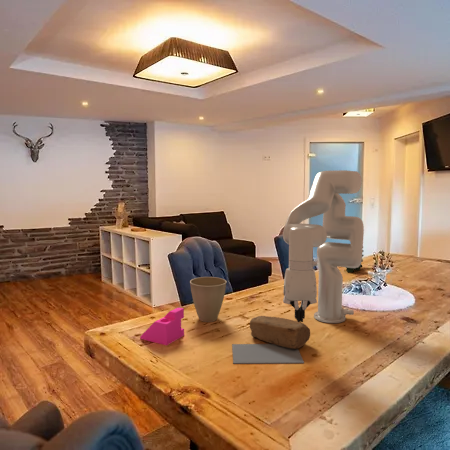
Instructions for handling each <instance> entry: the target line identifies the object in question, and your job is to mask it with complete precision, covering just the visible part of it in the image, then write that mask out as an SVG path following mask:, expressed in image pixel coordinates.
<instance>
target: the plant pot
mask: <svg viewBox="0 0 450 450" xmlns="http://www.w3.org/2000/svg"><path fill="white" fill-rule="evenodd" d="M189 284H190V292H191V296H192V302H193V305H194V309H195V311H196V314H197V317H198V319H199V321H201V322H206V323H210V322H215V321H217V319H218V317H219V316H220V312H221V309H222V306H223V303H224V302H223V301H224V298H225V295H226V289H227V280H226V279H224V278H221V277H218V276H217V277H216V276H215V277H214V276H201V277H200V276H199V277H195V278H192V279H191V280H189Z"/></svg>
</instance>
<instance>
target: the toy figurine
mask: <svg viewBox="0 0 450 450" xmlns="http://www.w3.org/2000/svg"><path fill="white" fill-rule="evenodd" d="M362 253H364V250H363V252H362ZM364 255H365V254H362V258H363V257H364ZM363 261H364V259H362V261H361V263H363ZM345 268H346V271H345V272H347V273H349V274H352V273H353V272H354V270H355V271H356V272H357V271H361V270H362V268H363V264H361V265H360V266H359V267H357V268H347V267H345Z"/></svg>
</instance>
